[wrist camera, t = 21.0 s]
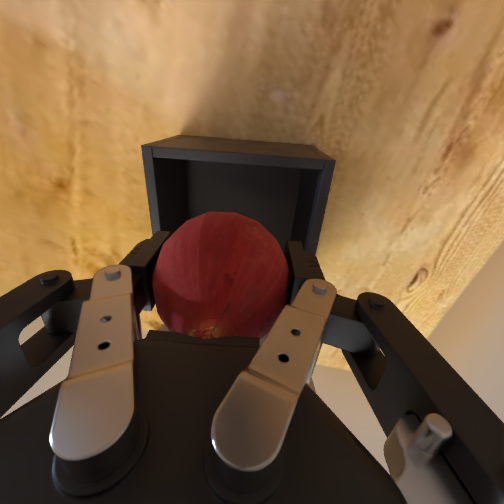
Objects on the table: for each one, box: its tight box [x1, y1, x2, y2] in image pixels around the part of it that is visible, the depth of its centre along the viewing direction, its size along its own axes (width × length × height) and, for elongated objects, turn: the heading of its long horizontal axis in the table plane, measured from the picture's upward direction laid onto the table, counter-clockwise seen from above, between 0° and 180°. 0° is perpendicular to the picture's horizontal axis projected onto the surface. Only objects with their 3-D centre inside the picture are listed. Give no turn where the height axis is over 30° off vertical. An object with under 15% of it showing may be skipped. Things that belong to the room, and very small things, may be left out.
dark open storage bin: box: [141, 135, 336, 307], centre depth 28 cm, size 18×15×10 cm
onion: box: [152, 212, 289, 339], centre depth 11 cm, size 6×6×8 cm
